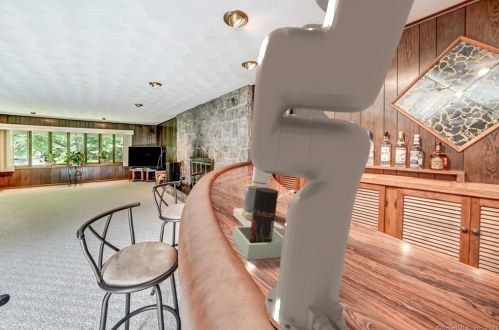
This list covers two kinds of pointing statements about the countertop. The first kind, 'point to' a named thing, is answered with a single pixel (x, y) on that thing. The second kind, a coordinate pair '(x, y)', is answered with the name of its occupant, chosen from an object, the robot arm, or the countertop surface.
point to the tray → (257, 244)
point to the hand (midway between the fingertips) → (301, 140)
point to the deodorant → (263, 215)
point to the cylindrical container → (260, 178)
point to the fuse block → (251, 209)
